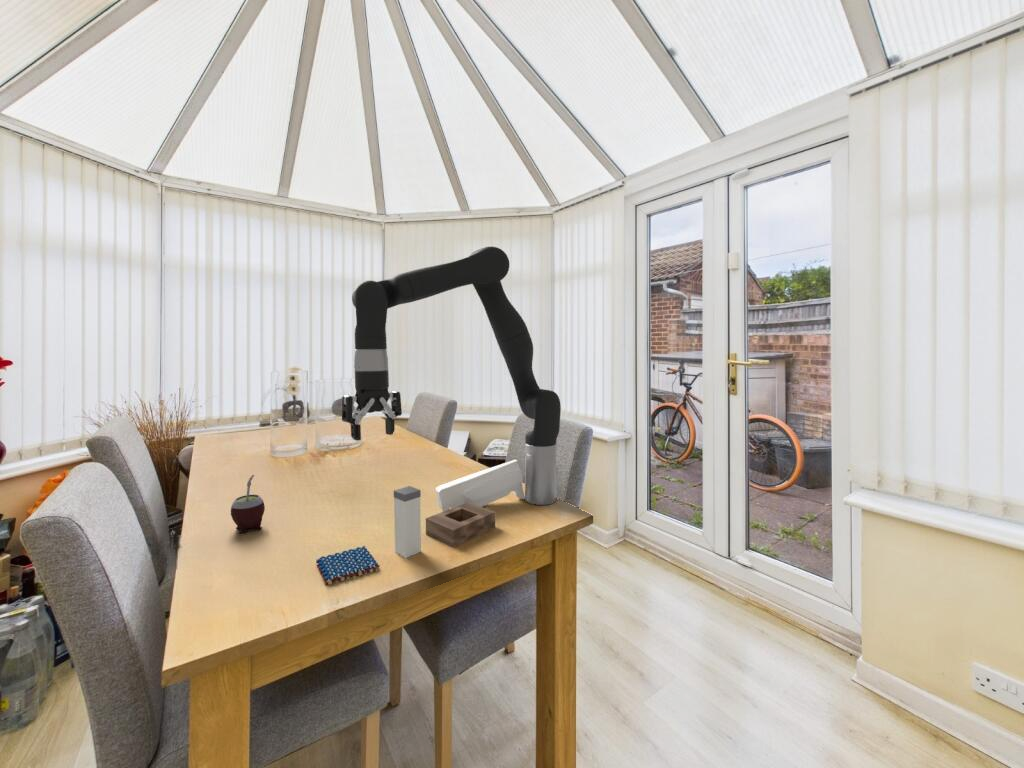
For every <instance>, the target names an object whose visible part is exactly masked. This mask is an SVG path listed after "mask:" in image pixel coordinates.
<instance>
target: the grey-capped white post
mask: <svg viewBox="0 0 1024 768" xmlns="http://www.w3.org/2000/svg"><path fill="white" fill-rule="evenodd" d="M421 491H422V490H421V489H418V488H416V487H413V486H410V485H409V486H405V487H402V488H397V489H394V490H393V510H394V515H393V516H394V553H396V554H397V555H399V554H400V555H399V556H402V557H403V556H404V557H403V558H405V559H407V558H409V557H412V556H414V555H416V554H418V553H421V552H422V533H421V532H422V531H421V530H422V529H421V527H422V526H421V522H422V521H421V513H422V512H421ZM411 555H412V556H411Z"/></svg>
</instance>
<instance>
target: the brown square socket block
mask: <svg viewBox="0 0 1024 768" xmlns="http://www.w3.org/2000/svg"><path fill="white" fill-rule="evenodd" d="M495 528H496V511H493V510H491V509H488V508H485V507H483V506H482V507H479V506H477V505H474V504H471V503H465V504H463V505H460V506H457V507H455V508H452V509H451V508H450V509H449V510H447V511H442V512H438V513H436V514H434V515H431V516H429V517H426V518H425V535H426V536H429V537H431V538H433V539H435V540H437V541H439V542H441V543H443V544H446V545H448V546H450V547H452V548H455V547H457V546H459V545H461V544H463V543H465V542H467V541H470V540H471V539H474V538H476V537H478V536H480V535H482V534H485V533H487V532H488V531H491V530H492V529H493V530H494V529H495Z"/></svg>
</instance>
